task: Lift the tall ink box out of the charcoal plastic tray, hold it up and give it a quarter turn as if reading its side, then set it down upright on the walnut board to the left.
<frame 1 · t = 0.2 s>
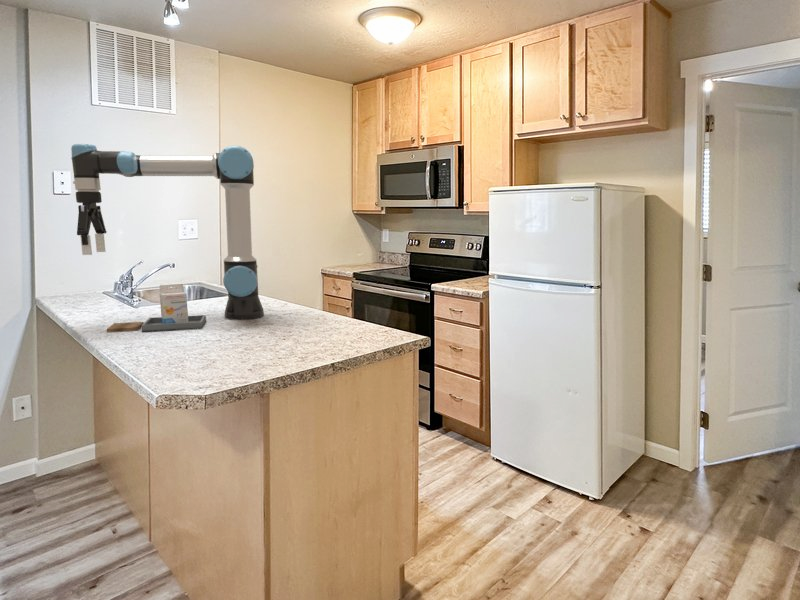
hand: (94, 253, 184), 27 cm above the countertop, fingers open, 13 cm apart
tray: (175, 326, 195), on the countertop
ink box: (175, 325, 195), point 1 cm above the countertop, touching tray
board: (126, 328, 192), on the countertop
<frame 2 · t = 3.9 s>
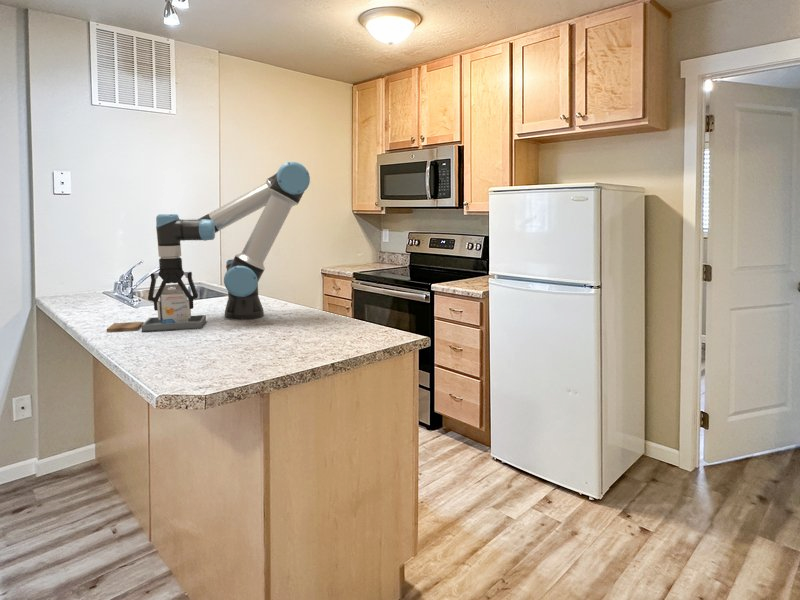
hand: (174, 318, 194), 3 cm above the countertop, fingers closed on ink box, 9 cm apart
ink box: (175, 325, 195), resting on tray, touching gripper
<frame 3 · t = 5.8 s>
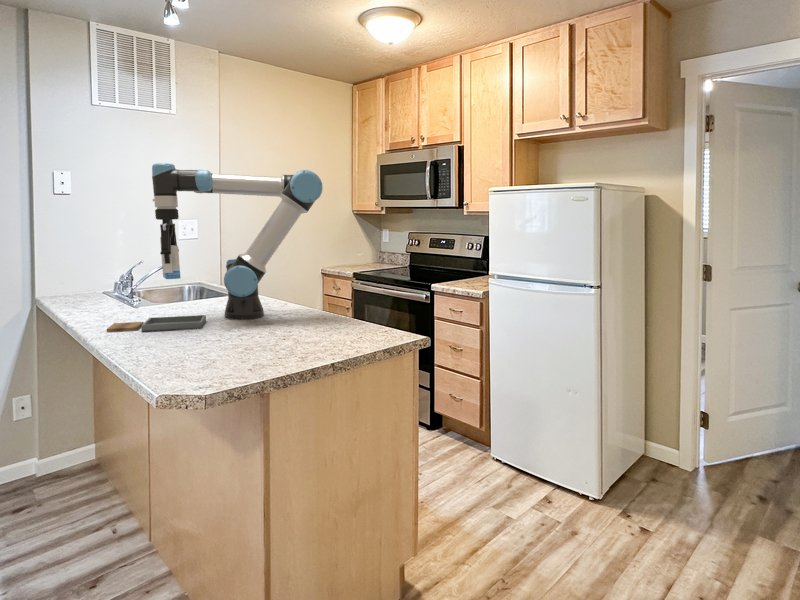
hand: (171, 271, 191), 21 cm above the countertop, fingers closed on ink box, 9 cm apart
ink box: (171, 278, 192), point 18 cm above the countertop, touching gripper
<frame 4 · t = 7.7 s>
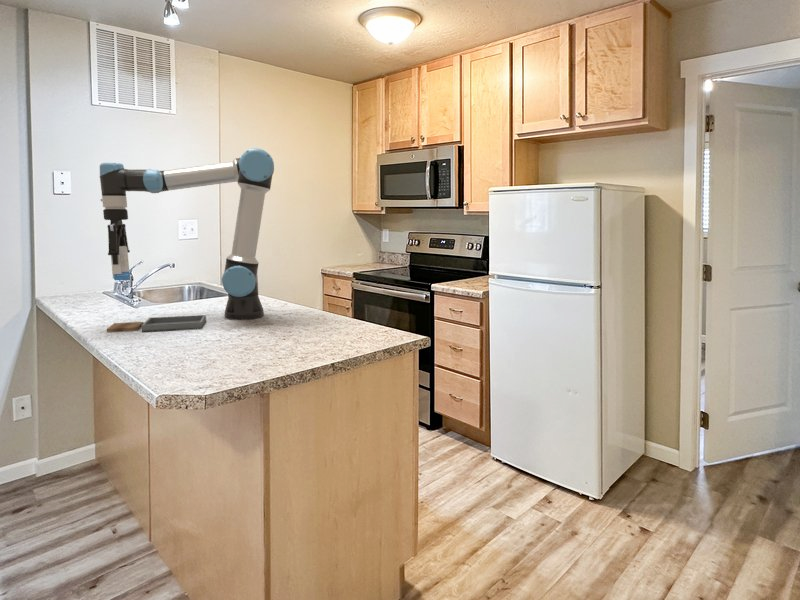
hand: (121, 272, 189), 21 cm above the countertop, fingers closed on ink box, 9 cm apart
ink box: (121, 279, 189), point 18 cm above the countertop, touching gripper
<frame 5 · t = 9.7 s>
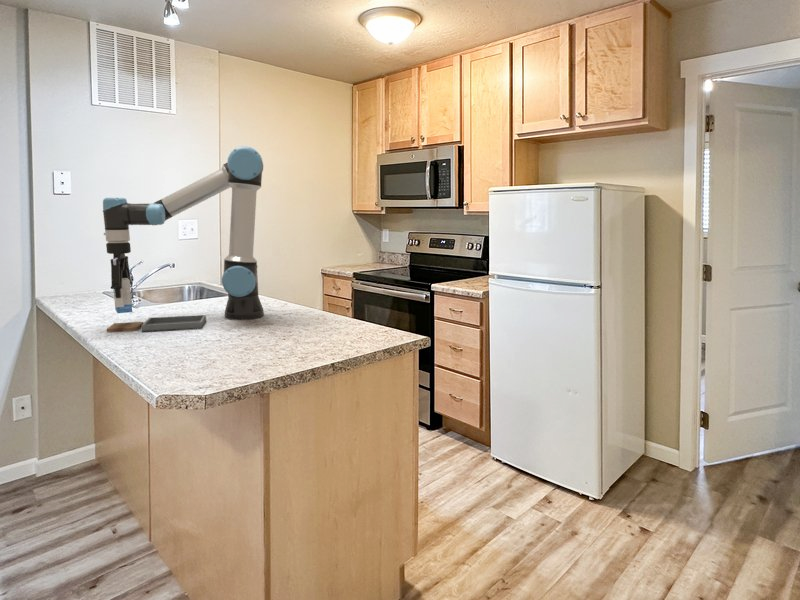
hand: (123, 304, 190), 9 cm above the countertop, fingers closed on ink box, 9 cm apart
ink box: (123, 311, 191), point 6 cm above the countertop, touching gripper
when the fingers open (4 cm above the countertop, at t = 11.5 s): ink box stays where it is, resting on board.
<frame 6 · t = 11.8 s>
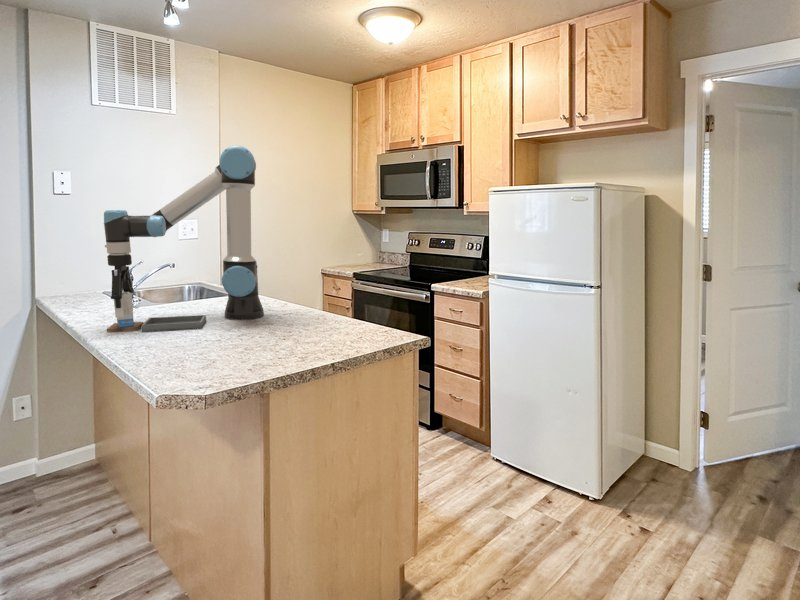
hand: (124, 313, 191), 5 cm above the countertop, fingers open, 12 cm apart
ink box: (125, 325, 192), point 1 cm above the countertop, touching board
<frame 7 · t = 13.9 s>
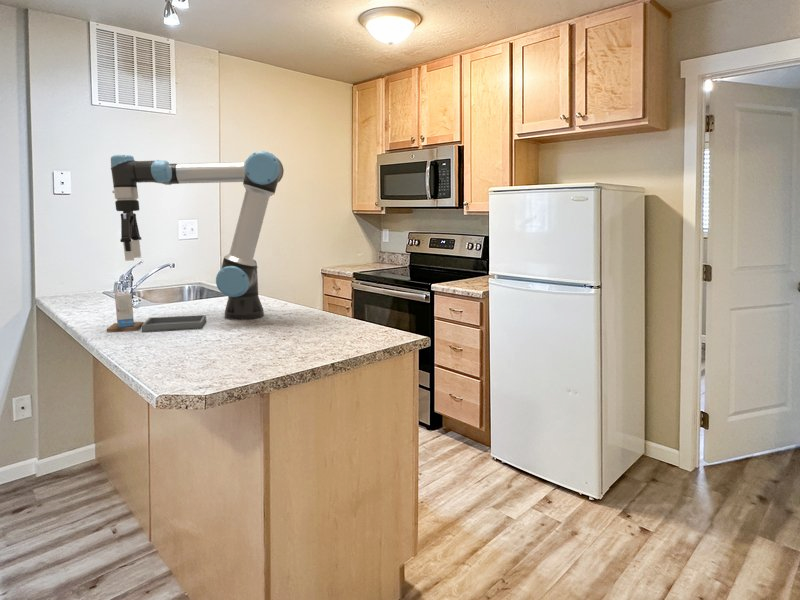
hand: (133, 259, 193), 25 cm above the countertop, fingers open, 13 cm apart
nothing on the countertop moved.
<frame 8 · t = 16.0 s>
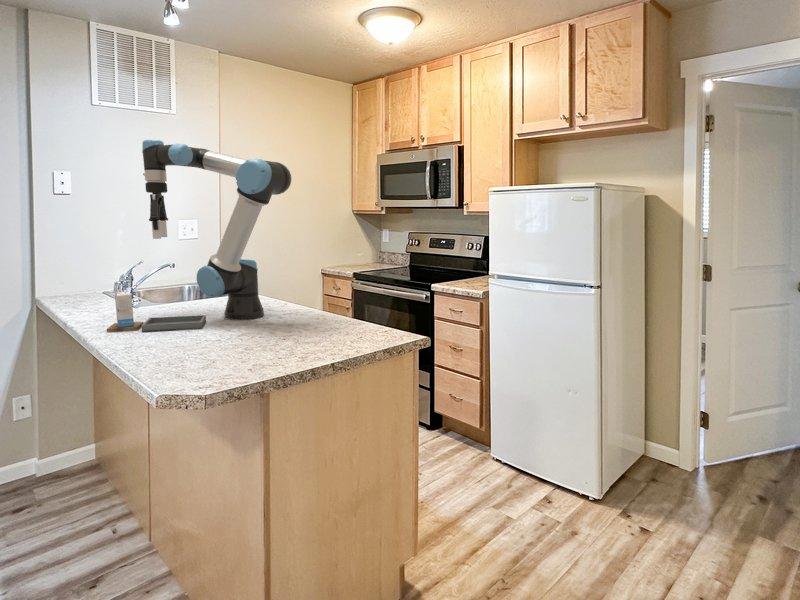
hand: (160, 238, 206), 32 cm above the countertop, fingers open, 13 cm apart
nothing on the countertop moved.
at the end: ink box inside the target area on the board (0.1 cm from its centre), point 1.0 cm above the board's base; ink box tilted 0°; the gripper is holding nothing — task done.
